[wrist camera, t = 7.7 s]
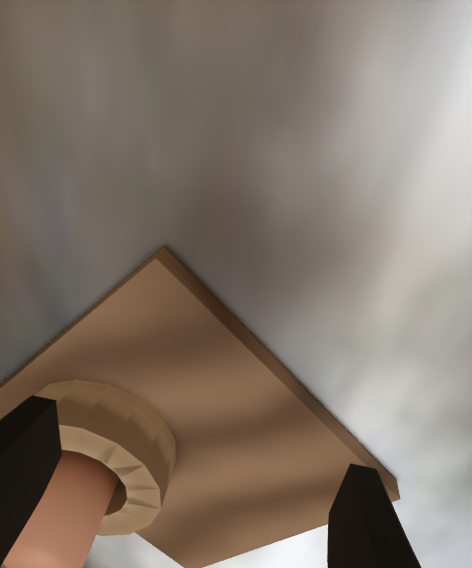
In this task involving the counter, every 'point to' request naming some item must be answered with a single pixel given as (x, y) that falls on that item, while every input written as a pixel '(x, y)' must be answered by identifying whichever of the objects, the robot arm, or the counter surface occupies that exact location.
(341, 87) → the counter surface
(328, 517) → the robot arm
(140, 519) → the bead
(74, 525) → the peg
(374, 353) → the counter surface
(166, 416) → the board
